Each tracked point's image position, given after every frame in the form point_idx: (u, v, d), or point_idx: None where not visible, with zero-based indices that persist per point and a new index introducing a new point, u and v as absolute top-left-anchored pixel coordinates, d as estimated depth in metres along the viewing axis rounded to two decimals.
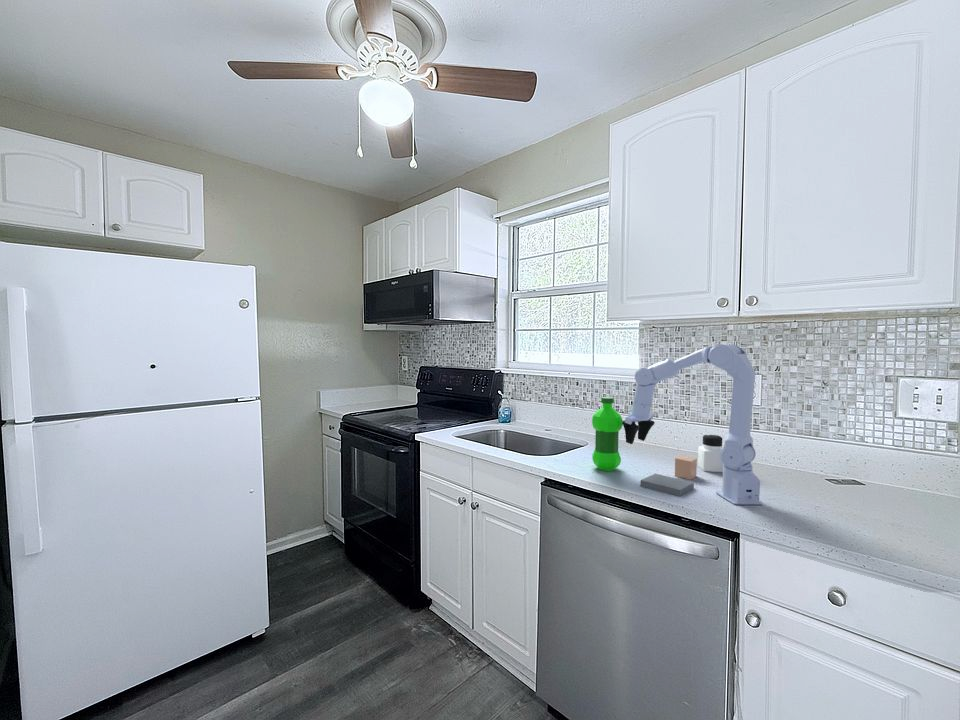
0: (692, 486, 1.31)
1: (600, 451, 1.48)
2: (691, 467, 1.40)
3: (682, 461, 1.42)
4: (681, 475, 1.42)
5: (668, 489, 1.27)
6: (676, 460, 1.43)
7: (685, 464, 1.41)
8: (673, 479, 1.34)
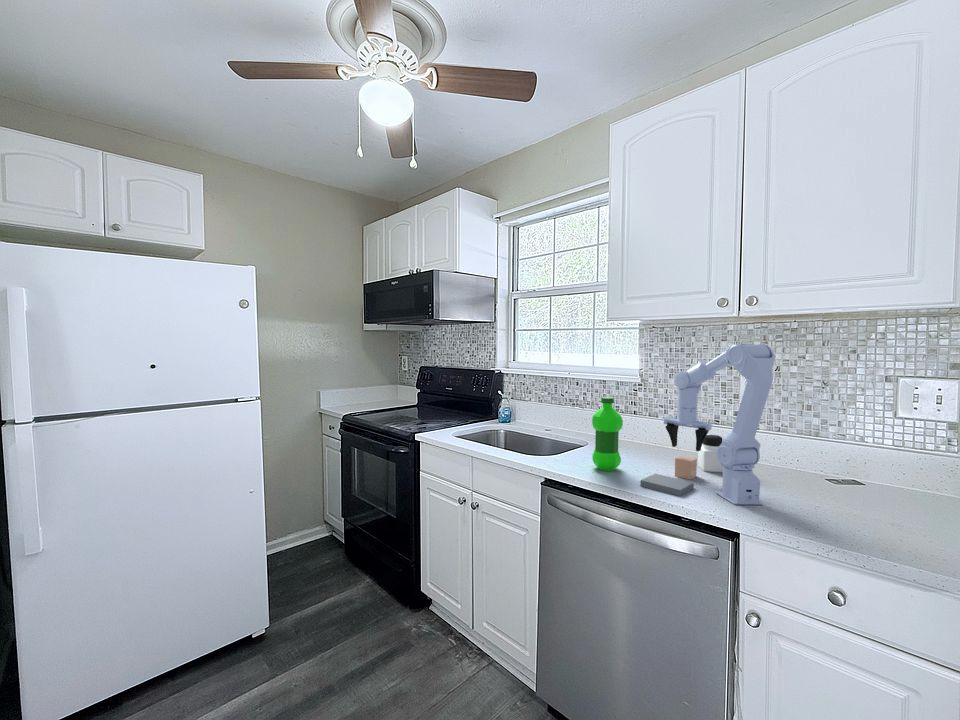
0: (692, 486, 1.31)
1: (600, 451, 1.48)
2: (691, 467, 1.40)
3: (682, 461, 1.42)
4: (681, 475, 1.42)
5: (668, 489, 1.27)
6: (676, 460, 1.43)
7: (685, 464, 1.41)
8: (673, 479, 1.34)
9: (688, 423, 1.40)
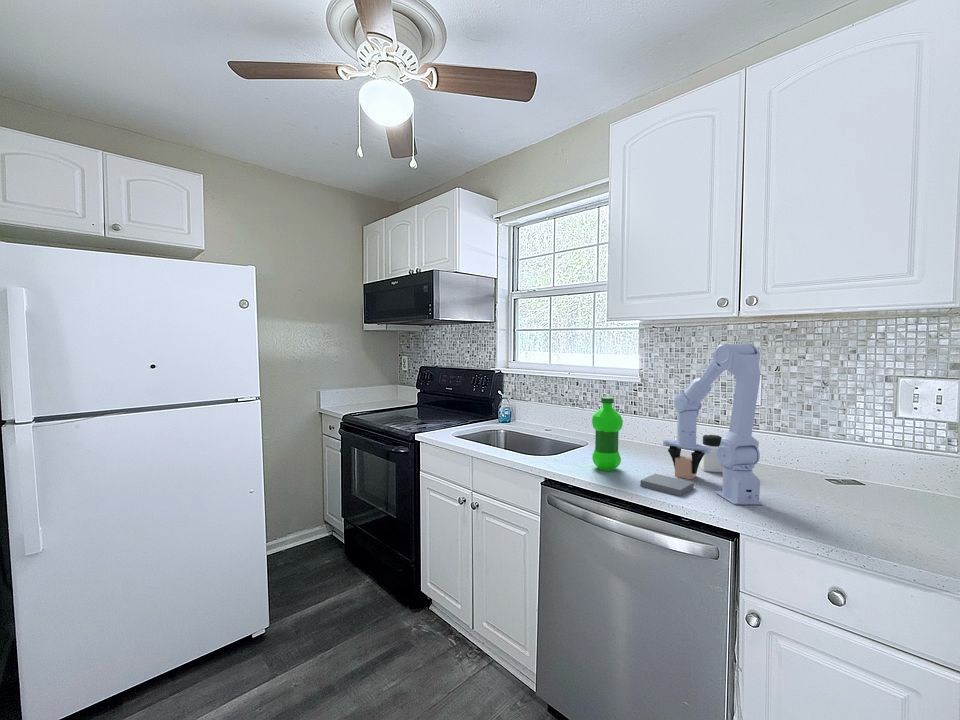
0: (692, 486, 1.31)
1: (600, 451, 1.48)
2: (691, 467, 1.40)
3: (682, 461, 1.42)
4: (681, 475, 1.42)
5: (668, 489, 1.27)
6: (676, 460, 1.43)
7: (685, 464, 1.41)
8: (673, 479, 1.34)
9: (687, 446, 1.40)
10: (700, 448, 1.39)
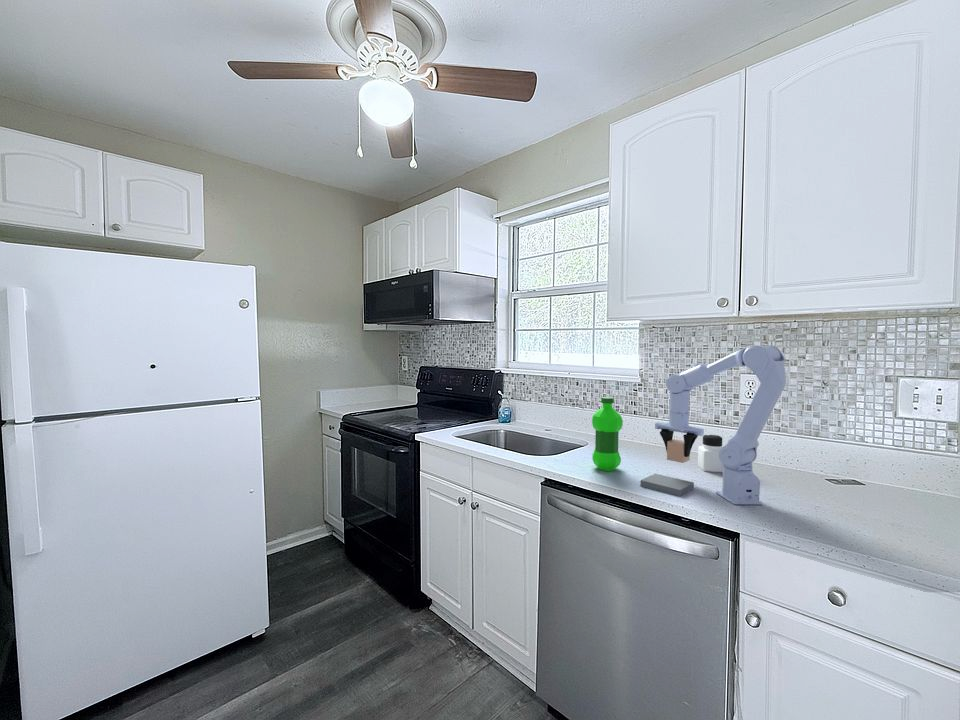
0: (692, 486, 1.31)
1: (600, 451, 1.48)
2: None
3: (674, 444, 1.36)
4: (673, 458, 1.37)
5: (668, 489, 1.27)
6: (668, 443, 1.38)
7: (677, 447, 1.36)
8: (673, 479, 1.34)
9: (679, 428, 1.35)
10: (692, 430, 1.33)
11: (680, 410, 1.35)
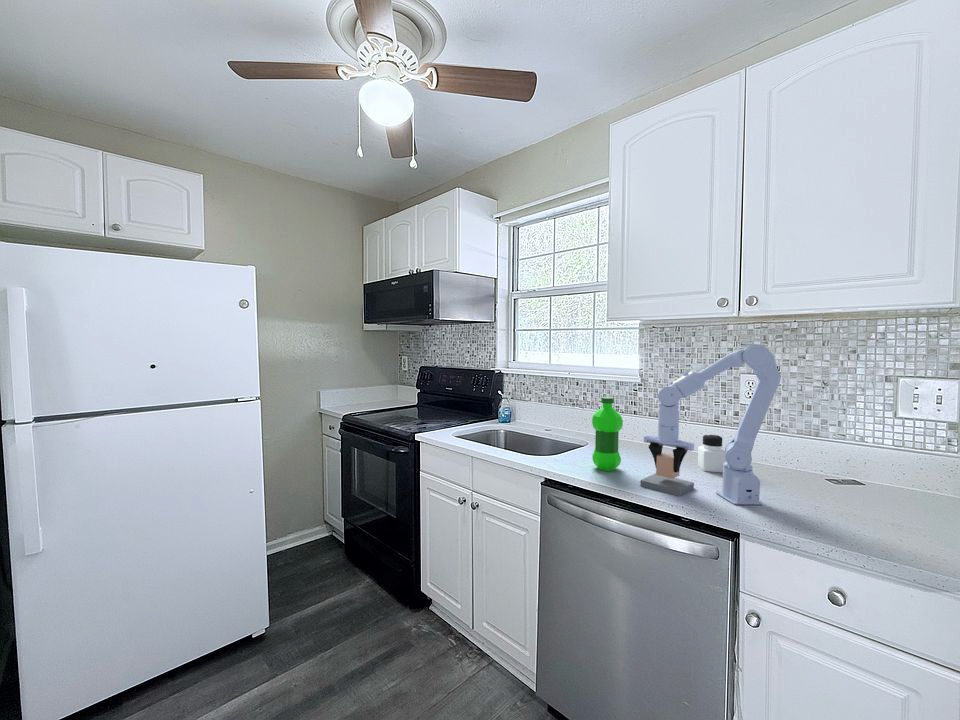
0: (692, 486, 1.31)
1: (600, 451, 1.48)
2: (673, 465, 1.30)
3: (664, 458, 1.31)
4: (663, 474, 1.31)
5: (668, 489, 1.27)
6: (658, 457, 1.32)
7: (667, 462, 1.30)
8: (673, 479, 1.34)
9: (669, 442, 1.29)
10: (682, 444, 1.27)
11: (674, 424, 1.29)
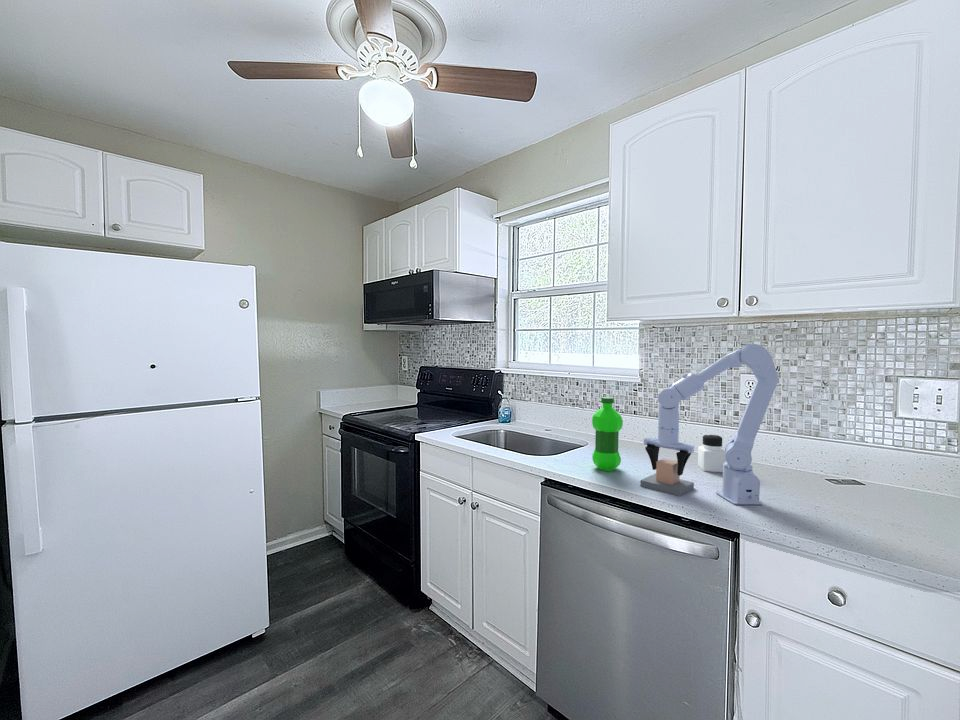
0: (692, 486, 1.31)
1: (600, 451, 1.48)
2: (673, 471, 1.29)
3: (664, 464, 1.31)
4: (663, 480, 1.31)
5: (668, 489, 1.27)
6: (657, 463, 1.32)
7: (667, 468, 1.30)
8: None
9: (669, 445, 1.29)
10: (682, 447, 1.27)
11: (674, 426, 1.29)
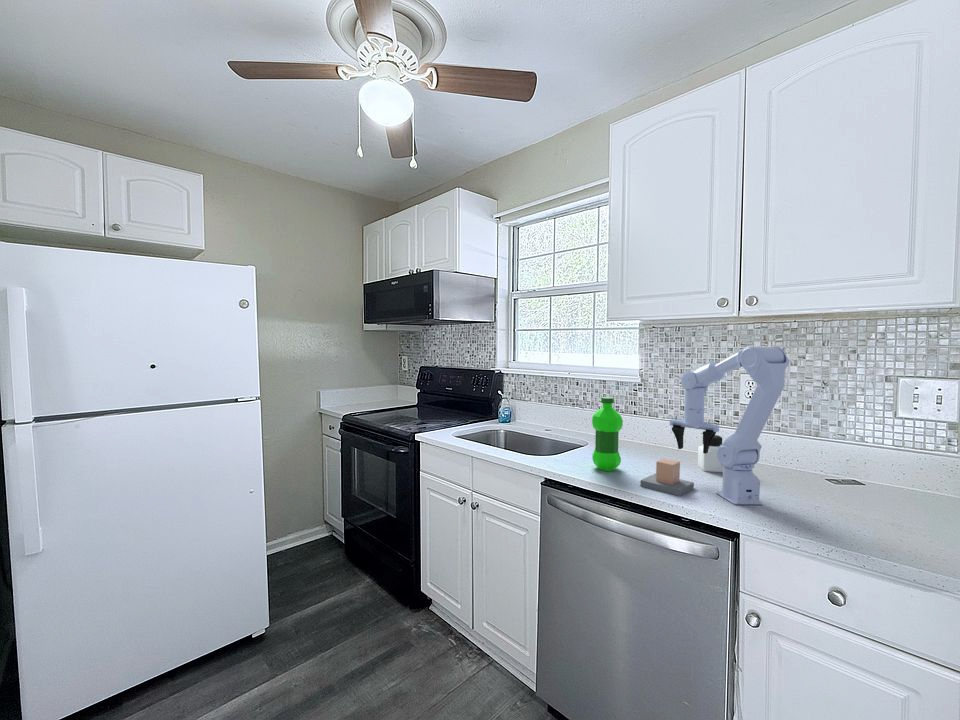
0: (692, 486, 1.31)
1: (600, 451, 1.48)
2: (673, 471, 1.29)
3: (664, 464, 1.31)
4: (663, 480, 1.31)
5: (668, 489, 1.27)
6: (657, 463, 1.32)
7: (667, 468, 1.30)
8: None
9: (695, 425, 1.36)
10: (708, 426, 1.35)
11: (692, 406, 1.37)
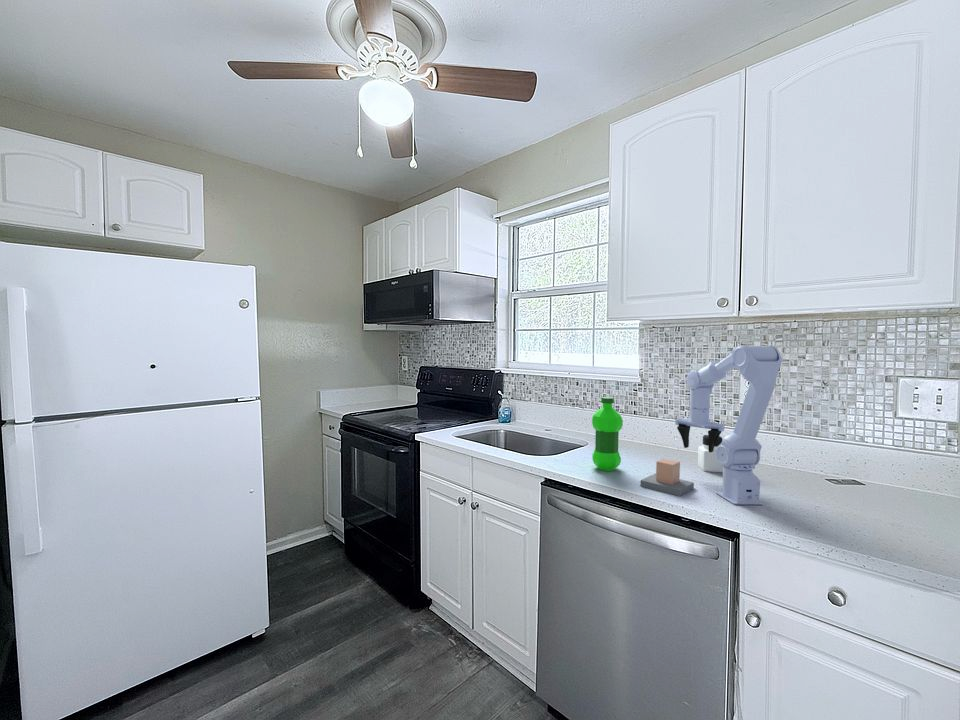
0: (692, 486, 1.31)
1: (600, 451, 1.48)
2: (673, 471, 1.29)
3: (664, 464, 1.31)
4: (663, 480, 1.31)
5: (668, 489, 1.27)
6: (657, 463, 1.32)
7: (667, 468, 1.30)
8: None
9: (700, 424, 1.38)
10: (713, 425, 1.36)
11: (696, 406, 1.38)
